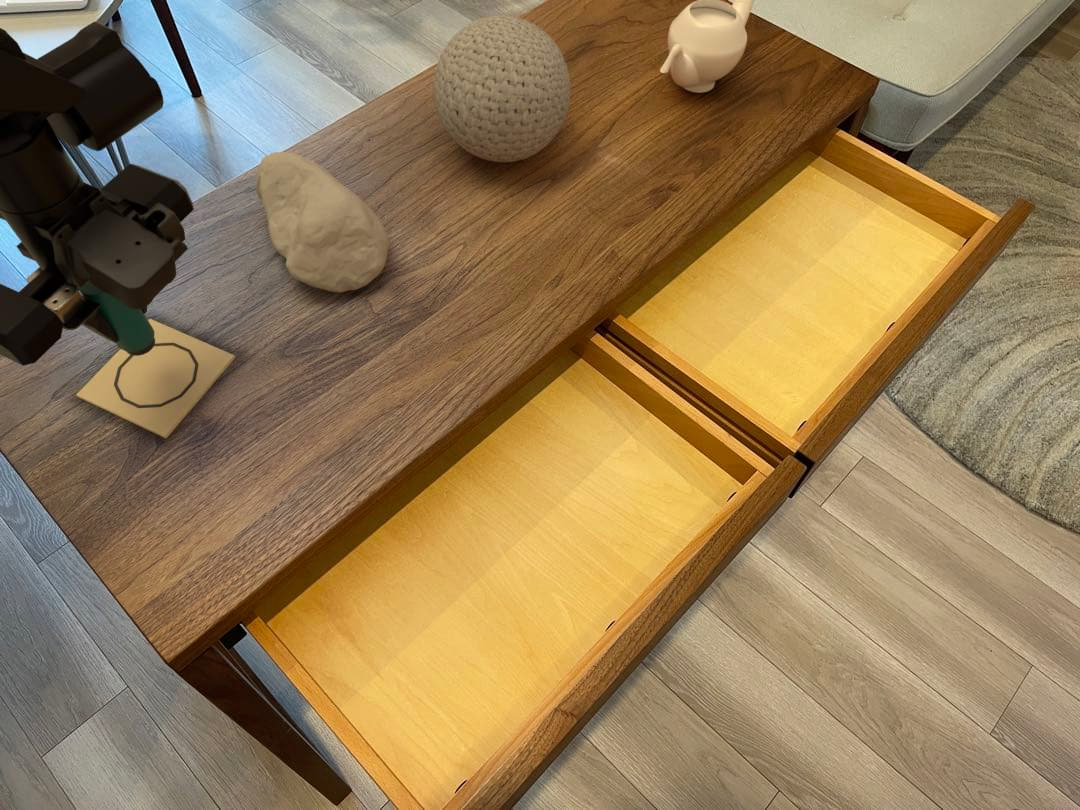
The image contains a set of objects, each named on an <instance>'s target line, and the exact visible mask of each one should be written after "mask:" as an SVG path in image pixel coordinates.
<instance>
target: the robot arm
mask: <svg viewBox="0 0 1080 810" xmlns="http://www.w3.org/2000/svg"><path fill="white" fill-rule="evenodd" d="M164 103H165V102H164V96H163V93H162V89H161V87H160V85H159V83H158V81H157V79H155V78H154V77H153V76H151V75H150V73H149V72H148V70H147V68H146V67H145V66H144V65H143V63H142V62H141V61H140V60H139V59H138V58H137V56H135V55H134V53H132V52H131V51H130V50H129V49H128V48H127V47H126V46H125V45H124V44H123V42H122V40H121V38H120V36H119V33H118V31H116V30H114V29H113V28H110V27H108V26H106V25H104V24H102V23H100V22H97V21H92V22H91V23H89V24H88V25H85V26H84V27H83V28H81V29H80V30H79V31H78V32H77V33H76V34H75V35H74V36H73V37H71V38H70V39H68V40H67V41H64V42H63V43H61V44H60V45H58V46H56V47H55V48H53V49H51V50H49V51H48V52H46V53H45V54H43V55H41V56H40V57H38V58H35V57H33V56H31V55H29V54H28V53H25V52H23V50H22V48H21V46H20V45H19V43H18V42H17V40H15V39H14V38H13V36H11V35H10V34H9V33H8V31H6V30H5V29H4V28H2V27H0V219H1V220H3V221H5V222H6V223H7V225H8V226H9V227H10V229H11V230H12V231H13V232H14V234H15V235H16V237H17V238H18V240H19V241H20V243H18V244H17V245H16V248H17V250H18V251H19V252H20V253H21V255H22V256H23V257H25V258H28V259H29V260H32V261H34V262H35V263H36V264H37V265H38V268H37V269H35V270H34V271H33V272H32V273H31V274H30V275H29V276H28V277H26V279H25V280H26V282H27V284H26V285H25V286H23V288H22V289H20V290H19V291H18V290H15V289H14V288H11V287H9V286H6V285H4V284H2V283H0V356H1V357H3V358H6V359H8V360H10V361H12V362H14V363H16V364H19V365H20V366H28V365H32V364H35V363H37V362H38V361H39V360H40V359H41V358H42V357H43V356H44V355H45V354H46V353H47V352H48V351H49V350H50V349H51V348H52V347H53V346H55V344H57V342H58V341H59V340H61V338H62V334H63V330H66V331H75V330H77V329H79V328H80V327H81V326H83V327H84V328H86V329H88V330H90V331H91V332H94V333H95V334H97V335H99V336H100V337H102V338H104V339H106V340H107V341H109V342H112V343H114V344H116V343H117V342H118V341H119V339H118V337H117V335H116V333H115V331H114V329H113V328H112V327H111V326H110V325H109V323H108V322H107V321H106V320H105V318H104V317H103V316H102V315H101V314H100V312H99V311H98V310H97V309H98V308H99V307H100V306H101V304H100V303H98V302H95V301H93V300H91V299H89V298H86V297H84V296H83V295H82V294H81V293H80V291H79V289H78V288H77V286H78V287H82V286H83V285H84V284H85V283H87V282H88V281H90V282H91V283H92V284H93V285H95V286H96V287H98V288H99V289H101V290H103V291H104V292H106V293H107V294H109V295H111V296H112V297H114V298H116V299H117V300H119V301H120V302H121V303H122V304H123V305H125V306H127V307H128V308H131V309H136V310H138V309H141V310H142V311H143V313H144V315H146V314H147V312H148V307H149V305H150V304H152V303H153V301H154V299H155V298H156V297H157V296H158V295H159V294H160V293H161V292H162V291H163V290H164V289H165V288H166V287H167V286H168V285H169V284H171V283H172V282H173V281H174V280H175V279H176V277H177V265H176V262H177V261H178V260H179V259H180V258H181V257H182V256H183V255H184V254H185V253H186V252H187V251H188V246H187V245H186V243H185V242H184V241H185V240H186V232H185V228H184V227H183V225H182V223H181V222H183V221H184V220H185V219H186V218H187V217H188V216H189V215H190V214H191V213H192V212H193V211H195V210H194V203H193V200H192V199H191V197H190V194H189V193H188V190H187V188H186V187H185V186H184V185H183V184H182V183H181V182H180V181H179V180H178V179H175V178H172V177H170V176H167V175H164V174H162V173H159V172H156V171H155V170H151V169H149V168H146V167H144V166H141V165H138V164H134V163H128V165H126V166H125V167H124V168H123V169H122V170H120V172H118V173H117V174H116V175H115V176H114V177H113V178H111V179H110V180H109V181H108V182H107V183H106V184H105V185H103V186H102V187H101V188H99V187H96V186H94V185H91V184H89V183H87V182H84V179H83V178H82V176H81V175H80V173H79V171H78V170H77V167H76V166H75V165H74V163H73V161H72V160H71V157H70V156H69V154H68V153H67V151H66V149H65V148H64V146H63V144H62V143H61V141H60V140H62V141H63V142H64V143H66V144H67V145H69V146H71V147H73V148H78V147H79V146H81V145H83V146H84V147H86V148H88V149H89V150H92V151H95V152H102V151H103V150H104V149H106V148H107V147H109V146H110V145H112V144H113V143H114V142H117V140H118V139H120V138H122V137H123V136H125V135H126V134H127V133H129V132H130V131H132V130H133V129H134V128H136V127H137V126H139V125H141V124H142V123H144V122H145V121H146V120H148V119H150V117H152V116H153V115H155V114H156V113H157V112H159V111H161V110H162V109H163V107H164Z"/></svg>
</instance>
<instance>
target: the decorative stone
mask: <svg viewBox="0 0 1080 810" xmlns="http://www.w3.org/2000/svg"><path fill="white" fill-rule="evenodd" d="M255 182H256V183H255V191H256V195H257V198H258V199H259V201H260V203H261V204H262V206H263V209H264V213H265V214H266V218H267V223H268V233H269V239H270V241H271V243H272V246H273V248H274V249H275V250H276V252H277V253H278V254H280V255H281V256H282V257H283V258H285V260H286V261H285V267H286V271H288V272H289V274H290V276H291V277H292V278H293V279H295V280H297V281H299V282H301V283H303V284H305V285H308V286H311V287H313V288H318V289H321V290H324V291H328V292H333V293H338V294H339V293H345V292H348V291H355V290H359V289H361V288H363V287H365V286H367V285H369V284H370V283H371V282H372V281H373V280H374V279H375V278H377V277H378V276H379V275H380V273H381V272H382V271H383V270H384V268H385V266H386V263H387V257H388V252H389V249H390V245H391V242H390V238H389V235H388V232H387V230H386V229H385V226H384V224H383V222H382V221H381V220H380V218H379V217H378V216H377V214H376V213H375V212H374V211H373V210H372V209H371V208H370V207H369V206H368V204H366V203H365V201H364V200H362V198H360V197H359V196H358V195H357V194H355V192H353V191H352V190H350V189H349V188H347V187H346V186H345V185H343V184H342V183H341V182H340V181H339V180H338V179H337V178H336V177H335V176H333V175H332V174H331V172H329V171H328V170H327V169H326V168H325V167H324V166H322V165H320V164H319V163H317V162H315V161H313V160H312V159H310V158H308V157H305V156H302V155H300V154H296V153H294V152H290V151H289V152H288V151H276V152H271V153H270V154H267V155H264V157H263V158H262V159H261V161H260V163H259V166H258V168H257V172H256V180H255Z"/></svg>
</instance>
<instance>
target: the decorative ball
mask: <svg viewBox="0 0 1080 810" xmlns="http://www.w3.org/2000/svg"><path fill="white" fill-rule="evenodd" d="M433 81H434V82H433V94H434V95H433V96H434V102H435V107H436V111H437V114H438V116H439V119H440V121H441V123H442V125H443V127H444V129H445V130H446V132H447V133H448V135H449V136H450V137H451V139H452V141H454V142H455V143H456V144H457V145H458V146H459V147H461V148H462V149H463V150H465V151H466V152H467V153H469V154H471V155H473V156H474V157H477V158H479V159H482V160H485V161H489V162H494V163H495V162H496V163H513V162H518V161H519V162H520V161H523V160H525V159H528V158H530V157H532V156H535V155H536V154H538V153H540V151H543V149H545V147H547V146H548V145H549V144H550V143H551V142H552V141H553V140H554V138H555V137H556V136H557V134H558V133H559V131H560V130H561V129H562V126H563V125H564V123H565V120H566V117H567V115H568V111H569V107H570V103H571V95H572V94H571V89H572V88H571V77H570V72H569V69H568V65H567V62H566V60H565V57H564V55H563V53H562V51H561V49H560V47H559V46H558V45H557V43H556V42H555V41H554V39H553V38H552V36H550V35H549V34H548V33H547V32H545V30H543V29H542V28H541V27H539V26H537V25H536V24H534V23H533V22H530V21H528V20H526V19H524V18H520V17H517V16H512V15H505V14H504V15H503V14H502V15H501V14H499V15H496V14H495V15H489V16H484V17H480V18H479V19H475V20H474V21H472V22H469V23H468V24H467V25H465V26H463V27H462V28H460V29H459V30H458V31H457V32H456V33H455V34H454V35H453V36H452V38H451V39H450V40H449V41H448V43H447V44H446V46H445V47H444V49H443V50H442V52H441V54H440V56H439V59H438V62H437V65H436V68H435V72H434V79H433Z"/></svg>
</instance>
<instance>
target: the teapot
mask: <svg viewBox="0 0 1080 810" xmlns="http://www.w3.org/2000/svg"><path fill="white" fill-rule="evenodd" d="M754 3H755V0H734V1H733V3H732V4H730V3H728V2H726V1H723V0H695V1H693V2H690V4H688V5H687V6H686V7H684V8H683V9H682V11H680V13H679V14H678V15H676V17H675V18H674V19H673V20H672V22H671V23H670V25H669V29H668V31H667V42H666V43H667V51H668V56H667V58H666V59H665V61H664V63H663V64H662V66H661V67H660V70H659V72H660V73H661V74H666V73H668V72H669V74H670V77H671V79H672V81H673V82H674V83H675V84H676V85H677V86H678V87H681V88H683V89H684V90H686V91H688V92H691V93H698V94H699V93H707V92H709V91H711V90H712V89H714V87H715V85H716V82H717V81H719V80H720V79H722V78H724V77H725V76H727V75H728V74H730V73H731V71H733V70H734V68H735V67H736V66H737V65H738V63H740V61H741V59H742V57H743V56H744V54H745V51H746V48H747V44H748V33H747V30H746V25H747V22H748V19H749V17H750V15H751V11H752V8H753V5H754Z"/></svg>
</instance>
